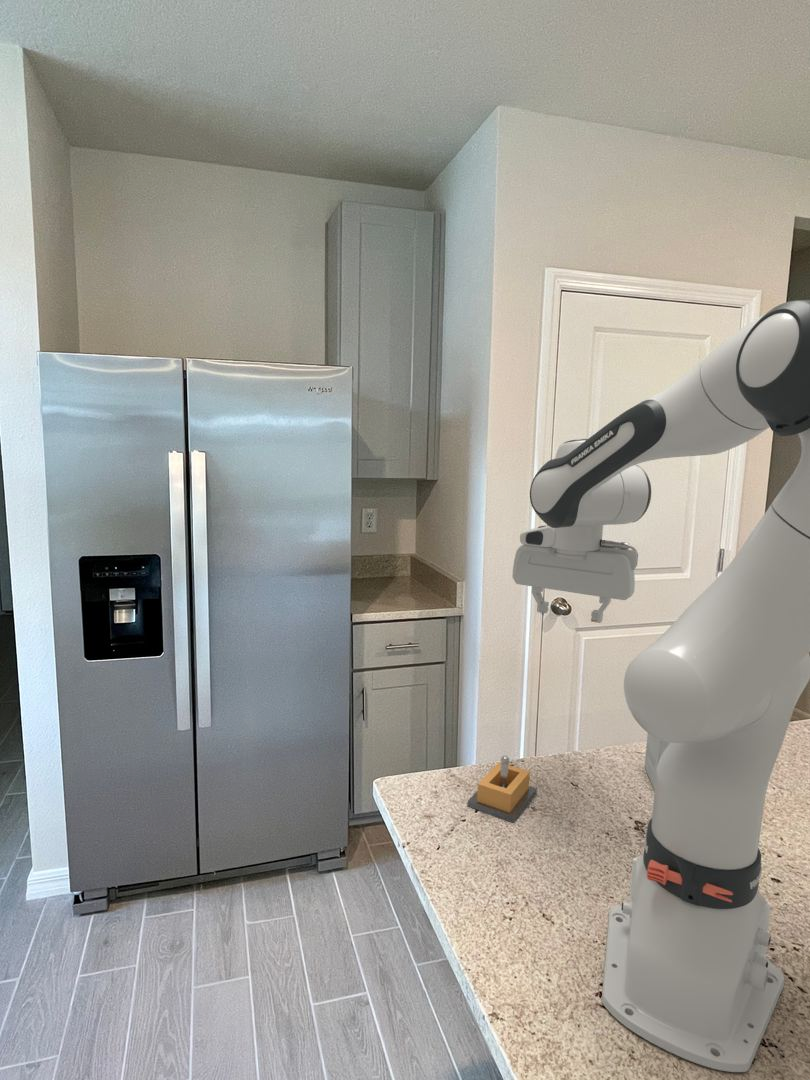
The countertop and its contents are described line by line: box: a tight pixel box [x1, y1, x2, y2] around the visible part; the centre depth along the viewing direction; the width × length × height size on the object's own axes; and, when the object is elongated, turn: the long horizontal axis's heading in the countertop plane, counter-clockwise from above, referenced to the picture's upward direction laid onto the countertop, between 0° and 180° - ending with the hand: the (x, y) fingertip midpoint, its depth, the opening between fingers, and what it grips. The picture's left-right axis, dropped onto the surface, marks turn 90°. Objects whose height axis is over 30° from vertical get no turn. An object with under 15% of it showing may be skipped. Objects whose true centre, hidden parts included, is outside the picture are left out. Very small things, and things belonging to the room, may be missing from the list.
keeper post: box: [467, 755, 538, 823], centre depth 105 cm, size 10×8×8 cm
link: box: [477, 761, 531, 812], centre depth 105 cm, size 9×6×3 cm, turn 149°
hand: (568, 616), depth 110 cm, fingers open, 8 cm apart
